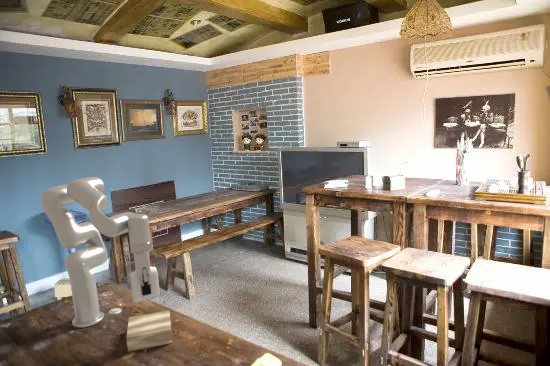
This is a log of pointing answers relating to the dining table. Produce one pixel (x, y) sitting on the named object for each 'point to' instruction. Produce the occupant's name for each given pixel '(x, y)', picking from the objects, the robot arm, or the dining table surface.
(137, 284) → the photo printer
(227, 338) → the dining table surface
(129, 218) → the robot arm
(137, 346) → the birch block
